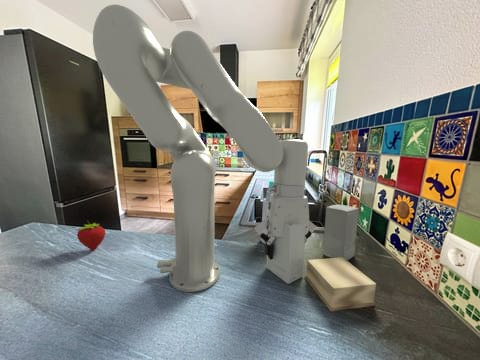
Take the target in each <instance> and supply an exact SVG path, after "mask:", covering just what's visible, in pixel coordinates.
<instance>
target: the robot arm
mask: <svg viewBox="0 0 480 360" xmlns="http://www.w3.org/2000/svg"><path fill="white" fill-rule="evenodd" d="M92 45H93V51H94V56H95V59H96V61H97V64H98V67H99V69H100V71H101V73H102V75H103V76H104V79H105V80H106V82H107V83H108V85H109V86H110V87H111V89H112V91H113V92H114V93H115V95H116V96H117V98H118V99H119V100H120V102H121V103H122V104H123V106H124V107H125V109H126V110H127V112H128V113H129V115H130V116H131V117H132V119H133V120H134V121H135V123H136V125H137V126H138V127H139V128H140V130H141V131H142V133H143V134H144V136H145V137H146V139H147V140H148V142H149V143H150V144H151V146H153V148H155V149H157V150H159V151H161V152H166V153H167V152H168V154H169V156H170V157H171V158H172V160H174V161H173V162H172V165H171V169H170V184H171V191H172V198H173V214H174V215H173V219H174V246H175V247H174V249H175V254H174V255H175V256H174V257H172V258H170V259H158V261H157V266H156V267H157V269H160V271H159V272H160V273H159V274H166V273H169V275H168V277H169V283H170V285H171V286H172V287H173V288H174V289H175V290H178V291H180V292H186V293H194V292H195V293H196V292H200V291H203V290H206V289H208V288H211V286H213V285H214V284H215V283H216V282H217V281H218V280H219V278H220V275H221V268H220V265H219V263H218V261H215V217H216V216H215V183H216V182H215V180H216V179H215V178H216V173H217V164H216V161H215V158H214V157H213V155H212V154H211V152H210V151H209V150H208V148H207V147H206V145H205V144H204V142H203V140H202V139H201V138H200V136H199V135H198V132H197V131H196V130H195V128H193V126H192V124H191V123H190V122H189V121H188V120H187V119H186V118H184V116H182V115H181V114H180V113H179V112H178V111H177V110H176V108H175V107H174V106H173V105H172V104H171V102H170V101H169V99H168V97H167V96H166V95H165V94H164V92H163V90H162V88H161V86H160V85H159V84H164V85H168V86H173V87H179V88H181V89H182V88H183V89H186V90H187V89H188V90H191V91H192V93H193V94H194V96H195V97H196V98H197V100H198V101H199V103H200V104H201V105H202V107H203V108H204V109H205V111H206V112H207V114H208V115H209V116H210V117H211V118H212V119H213V120H214V121H215V122H216V123H218V124H219V125H220V126H221V127H222V128H223V129H224V130H225V131H226V132H227V133H228V135H229V136H230V137H231V138H232V140H233V141H234V143H235V144H236V145H237V147H238V148H239V149H240V152H242V153H243V154H242V156H243V160H244V162H245V163H246V164H247V165H248V166H249V167H250V168H253V169H254V170H256V171H258V172H262V173H269V172H271V171H274V174H273V181H274V183H273V185H271V186H269V185H268V186H267V191H272V192H273V194H271V196H270V200H269V204H268V209H267V216H266V219H265V220H264V221H262V220H261V222H259V223H258V224H256V226H254V230H255V233H257V234H258V236H259V237H260V239H261V238H262V239H263V240H264V241H265V244H264V254H265V255H266V257H267V256H268V257H269V259H270V260H272V259H273V247H274V246H273V244H272V242H273V240H274V239H275V237H283V230H284V224H295V223H297V224H298V223H302V224H303V235H304V245H305V243H307V242H308V239H309V238H310V237H311V236H312V235H313V234H312V233H314V232H315V230H316V229H317V225H315V223H313V222H312V221H311V220H310V208H309V201H308V196H307V195H305V187H306V175H307V164H308V154H309V153H308V152H309V144H308V143H307V141H305V140H303V139H281V140H280V139H279V137H278V136H277V134H276V133H275V131H274V130H273V128H272V126H271V125H270V123H269V122H268V121H267V120H266V118H265V117H264V116H263V114H262V112H261V111H260V110H259V109H258V108H257V107H256V106H255V105H254V104H253V103H252V102H251V101H250V100H249V99H248V98H247V96H245V95H244V94H243V93H242V91H241V90H239V88H238V87H237V85H236V84H235V82H234V81H233V80H232V78H231V76H229V74H228V73H227V71H226V70H225V68H224V67H223V65H222V64H221V62H220V61H219V59H218V57H216V55H215V53H214V52H213V50H212V49H211V48H210V46H209V45H208V43H207V42H206V41H205V40H204V39H203V37H202V36H201V35H199V34H198V33H196V32H194V31H191V30H183V31H180V32H179V33H177V34H176V35H175V36H174V37H173V38H172V40H171V43H170V48H166V47H163V46H162V45H161V44H160V42H159V41H158V38H157V37H156V35H155V34H154V32H153V31H152V29H151V28H150V27H149V25H148V24H147V22H146V21H145V20H144V19H143V18H142V17H141V16H139V15H138V14H137V13H136V12H135V11H133V10H132V9H130V8H129V7H126V6H123V5H120V4H109V5H106V6H105V7H104V8H103V9H101V11H99V13H98V15H97V16H96V20H95V22H94V25H93V31H92ZM158 83H159V84H158ZM265 227H266V229H267V230H268V232H267V233H266V234H264V233H263V231H262V230H263V229H264V228H265Z"/></svg>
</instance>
